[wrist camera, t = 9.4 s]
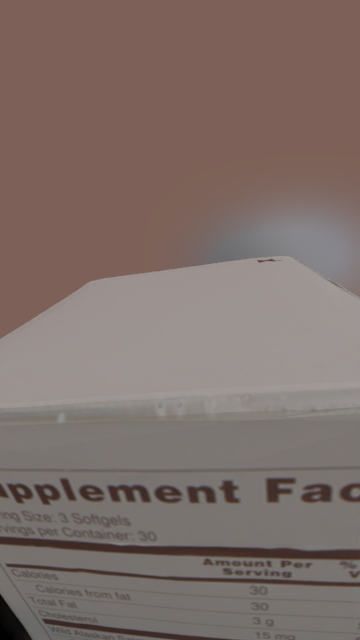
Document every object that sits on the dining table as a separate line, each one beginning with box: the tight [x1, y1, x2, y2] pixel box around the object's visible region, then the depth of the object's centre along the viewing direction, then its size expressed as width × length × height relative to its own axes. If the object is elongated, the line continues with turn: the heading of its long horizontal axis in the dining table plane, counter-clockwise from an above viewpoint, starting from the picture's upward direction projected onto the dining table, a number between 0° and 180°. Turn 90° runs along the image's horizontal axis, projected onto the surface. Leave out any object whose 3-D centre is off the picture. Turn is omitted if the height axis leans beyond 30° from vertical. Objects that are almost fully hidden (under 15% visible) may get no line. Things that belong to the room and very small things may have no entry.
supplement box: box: [0, 256, 360, 640], centre depth 8 cm, size 7×7×13 cm
